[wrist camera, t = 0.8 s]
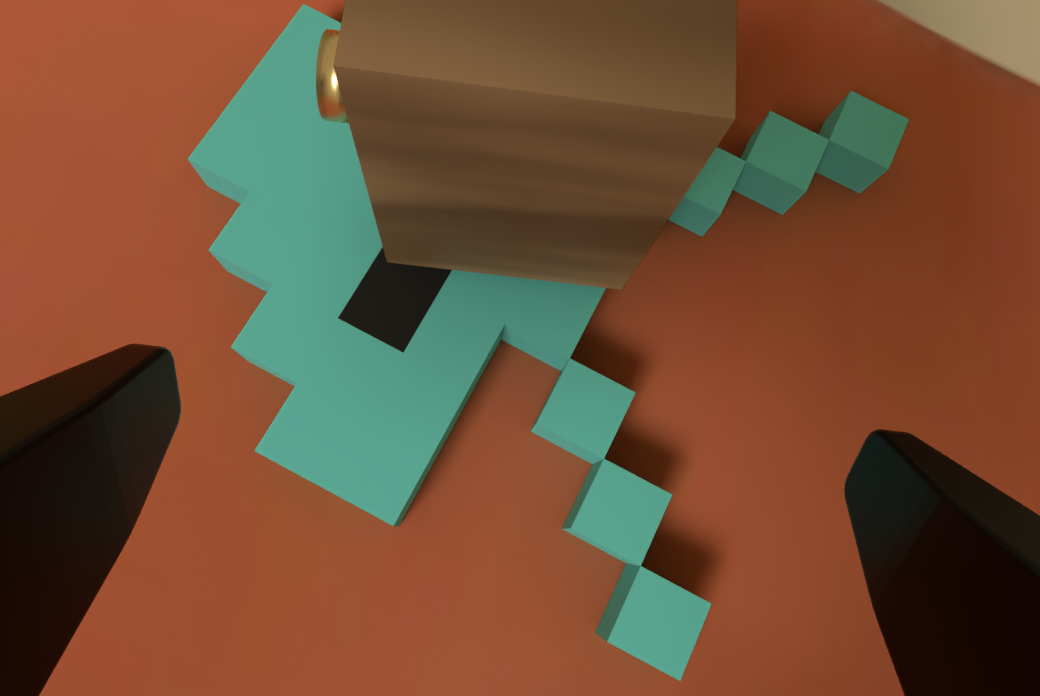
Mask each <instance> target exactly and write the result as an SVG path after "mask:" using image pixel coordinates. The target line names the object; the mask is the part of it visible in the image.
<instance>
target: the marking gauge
mask: <svg viewBox="0 0 1040 696" xmlns="http://www.w3.org/2000/svg"><path fill="white" fill-rule="evenodd" d="M736 52H737V0H345V6H344V11H343V16H342V21H341V27H340V30H332V29H326V30H325V31H324V33H323V35H322V37H321V40H320V44H319V49H318V56H317V66H316V93H317V102H318V108H319V112H320V115H321V117H322V119H323V120H325V121H331V122H339V123H347V124H349V125H350V129H351V133H352V136H353V140H354V144H355V147H356V151H357V155H358V158H359V162H360V166H361V169H362V173H363V177H364V180H365V184H366V187H367V191H368V195H369V198H370V202H371V206H372V209H373V213H374V217H375V220H376V224H377V228H378V231H379V235H380V239H381V242H382V246H383V250H384V253H385V257H386V260H387V262H389V263H398V264H406V265H415V266H423V267H432V268H440V269H449V270H457V271H466V272H474V273H483V274H492V275H500V276H509V277H517V278H526V279H534V280H543V281H551V282H560V283H568V284H577V285H585V286H594V287H602V288H611V289H619V290H622V288H623V287H624V285H625V284H626V282H627V281H628V279H629V278H630V276H631V275H632V273H633V272H634V270H635V269H636V267H637V266H638V264H639V263H640V261H641V260H642V258H643V257H644V255H645V254H646V252H647V251H648V249H649V248H650V246H651V245H652V243H653V242H654V240H655V239H656V237H657V236H658V234H659V233H660V231H661V230H662V228H663V227H664V225H665V224H666V222H667V221H668V219H669V218H670V216H671V215H672V213H673V212H674V210H675V209H676V207H677V206H678V204H679V203H680V201H681V200H682V198H683V197H684V195H685V194H686V192H687V191H688V189H689V188H690V186H691V185H692V183H693V182H694V180H695V179H696V177H697V176H698V174H699V173H700V171H701V170H702V168H703V167H704V165H705V164H706V162H707V161H708V159H709V158H710V156H711V155H712V153H713V152H714V150H715V149H716V147H717V146H718V144H719V143H720V141H721V140H722V138H723V137H724V135H725V134H726V132H727V131H728V129H729V128H730V126H731V125H732V123H733V122H734V120H735V119H736Z"/></svg>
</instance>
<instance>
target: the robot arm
mask: <svg viewBox="0 0 1040 696" xmlns="http://www.w3.org/2000/svg"><path fill="white" fill-rule="evenodd" d="M180 413H181V402H180V395H179V389H178V383H177V377H176V371H175V364H174V359H173V356H172V354H171V352H170V351H169V350H168V349H166V348H165V347H159V346H151V345H142V344H129V345H126V346H124V347H121V348H119V349H116V350H114V351H111V352H109V353H107V354H104V355H102V356H99V357H97V358H94V359H92V360H89V361H87V362H84V363H82V364H79V365H77V366H74V367H72V368H70V369H67V370H65V371H62V372H60V373H57V374H55V375H52V376H50V377H47V378H45V379H42V380H40V381H37V382H35V383H33V384H30V385H28V386H25V387H23V388H20V389H18V390H15V391H13V392H10V393H8V394H5V395H3V396H0V696H39V695H40V693H41V691H42V690H43V688H44V686H45V684H46V683H47V681H48V679H49V677H50V676H51V674H52V672H53V670H54V669H55V667H56V665H57V663H58V662H59V660H60V658H61V656H62V655H63V653H64V651H65V649H66V648H67V646H68V644H69V642H70V641H71V639H72V637H73V635H74V634H75V632H76V630H77V628H78V627H79V625H80V623H81V621H82V620H83V618H84V616H85V614H86V613H87V611H88V609H89V607H90V606H91V604H92V602H93V600H94V599H95V597H96V595H97V593H98V592H99V590H100V588H101V586H102V585H103V583H104V581H105V579H106V577H107V576H108V574H109V572H110V570H111V569H112V567H113V565H114V563H115V562H116V560H117V558H118V556H119V555H120V553H121V551H122V549H123V547H124V546H125V544H126V542H127V540H128V538H129V536H130V534H131V532H132V530H133V528H134V526H135V524H136V522H137V519H138V517H139V515H140V513H141V510H142V508H143V506H144V503H145V501H146V499H147V496H148V494H149V491H150V489H151V487H152V484H153V482H154V480H155V477H156V475H157V473H158V470H159V468H160V466H161V463H162V461H163V458H164V456H165V454H166V451H167V449H168V447H169V444H170V442H171V440H172V437H173V435H174V433H175V430H176V428H177V425H178V423H179V419H180ZM844 491H845V500H846V504H847V508H848V512H849V516H850V520H851V524H852V528H853V532H854V536H855V540H856V544H857V548H858V552H859V556H860V560H861V564H862V568H863V572H864V576H865V580H866V584H867V588H868V592H869V595H870V599H871V602H872V606H873V609H874V612H875V615H876V618H877V621H878V624H879V627H880V630H881V633H882V635H883V638H884V641H885V643H886V646H887V649H888V652H889V654H890V657H891V660H892V663H893V665H894V668H895V671H896V673H897V676H898V679H899V682H900V684H901V687H902V690H903V693H904V695H905V696H1040V516H1039V515H1038V514H1036V513H1035V512H1033V511H1032V510H1030V509H1028V508H1027V507H1025V506H1024V505H1022V504H1021V503H1019V502H1017V501H1016V500H1014V499H1013V498H1011V497H1010V496H1008V495H1006V494H1005V493H1003V492H1002V491H1000V490H999V489H997V488H995V487H994V486H992V485H991V484H989V483H988V482H986V481H984V480H983V479H981V478H980V477H978V476H977V475H975V474H973V473H972V472H970V471H969V470H967V469H966V468H964V467H962V466H961V465H959V464H958V463H956V462H955V461H953V460H952V459H950V458H948V457H947V456H945V455H944V454H942V453H941V452H939V451H937V450H936V449H934V448H933V447H931V446H930V445H928V444H926V443H925V442H923V441H922V440H920V439H919V438H917V437H915V436H914V435H912V434H910V433H906V432H900V431H891V430H882V429H878V430H875V431H873V432H871V433H870V434H869V435H868V437H867V438H866V440H865V442H864V444H863V446H862V448H861V450H860V452H859V454H858V456H857V458H856V460H855V462H854V464H853V466H852V468H851V470H850V472H849V474H848V476H847V478H846V482H845V489H844Z"/></svg>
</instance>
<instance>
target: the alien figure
mask: <svg viewBox="0 0 1040 696" xmlns="http://www.w3.org/2000/svg"><path fill="white" fill-rule="evenodd" d="M340 27H341V23H340V22H338V21H336V20H334V19H332V18H330V17H328V16H326V15H324V14H322V13H320V12H318V11H316V10H314V9H312V8H310V7H308V6H306V5H304V4H303V5H302V7H301V8H300V9H299V11H298V12H297V13H296V15H295V16H294V17H293V19H292V20H291V21H290V23H289V24H288V25H287V27H286V28H285V29H284V31H283V32H282V33H281V35H280V36H279V37H278V39H277V40H276V41H275V43H274V44H273V45H272V47H271V48H270V50H269V51H268V52H267V54H266V55H265V56H264V58H263V59H262V60H261V62H260V63H259V64H258V66H257V67H256V68H255V70H254V71H253V72H252V74H251V75H250V76H249V78H248V79H247V80H246V82H245V83H244V84H243V86H242V87H241V88H240V90H239V91H238V92H237V94H236V95H235V96H234V98H233V99H232V100H231V102H230V103H229V104H228V106H227V107H226V108H225V110H224V111H223V112H222V114H221V115H220V116H219V118H218V119H217V120H216V122H215V123H214V124H213V126H212V127H211V128H210V130H209V131H208V132H207V134H206V135H205V136H204V138H203V139H202V141H201V142H200V143H199V145H198V146H197V147H196V149H195V150H194V151H193V153H192V154H191V155H190V157H189V158H188V160H189V162H190V163H191V164H192V166H193V167H194V168H195V170H196V171H197V173H198V174H199V175H200V177H201V178H202V179H203V181H204V182H205V183H206V185H207V186H208V187H210V188H212V189H214V190H216V191H217V192H219V193H221V194H223V195H225V196H227V197H229V198H231V199H233V200H235V201H237V202H239V203H240V204H241V205H240V206H239V208H238V209H237V210H236V212H235V213H234V215H233V216H232V217H231V219H230V220H229V222H228V223H227V225H226V226H225V227H224V229H223V230H222V232H221V233H220V234H219V236H218V237H217V239H216V240H215V241H214V243H213V244H212V246H211V247H210V249H209V251H210V252H211V253H212V255H213V256H214V257H215V258H216V259H217V260H218V261H219V262H220V263H221V265H222V266H223V267H224V268H225V269H226V270H227V271H228V272H230V273H232V274H234V275H235V276H237V277H239V278H241V279H243V280H245V281H247V282H249V283H251V284H253V285H254V286H256V287H258V288H260V289H262V290H264V291H266V292H267V293H266V295H265V296H264V298H263V299H262V301H261V302H260V304H259V305H258V307H257V308H256V310H255V311H254V313H253V314H252V316H251V317H250V319H249V320H248V322H247V323H246V325H245V326H244V328H243V329H242V331H241V332H240V334H239V335H238V337H237V338H236V340H235V341H234V343H233V344H232V346H231V348H232V349H234V350H235V351H236V352H237V353H239V354H240V355H241V356H242V357H244V358H245V359H246V360H247V361H249V362H251V363H252V364H254V365H256V366H258V367H260V368H262V369H264V370H266V371H267V372H269V373H271V374H273V375H275V376H277V377H279V378H280V379H282V380H284V381H286V382H288V383H290V384H292V385H294V386H295V387H294V389H293V390H292V392H291V394H290V395H289V397H288V398H287V400H286V402H285V403H284V405H283V406H282V408H281V410H280V411H279V413H278V414H277V416H276V418H275V419H274V421H273V422H272V424H271V425H270V427H269V429H268V430H267V432H266V433H265V435H264V437H263V438H262V440H261V441H260V443H259V445H258V446H257V448H256V449H255V452H257V453H259V454H261V455H263V456H265V457H267V458H268V459H270V460H272V461H274V462H276V463H278V464H279V465H281V466H283V467H285V468H287V469H289V470H291V471H292V472H294V473H296V474H298V475H300V476H302V477H304V478H305V479H307V480H309V481H311V482H313V483H315V484H316V485H318V486H320V487H322V488H324V489H326V490H328V491H329V492H331V493H333V494H335V495H337V496H339V497H341V498H342V499H344V500H346V501H348V502H350V503H352V504H353V505H355V506H357V507H359V508H361V509H363V510H365V511H366V512H368V513H370V514H372V515H374V516H376V517H378V518H379V519H381V520H383V521H385V522H387V523H389V524H390V525H392V526H399V525H400V523H401V522H402V520H403V518H404V516H405V514H406V513H407V511H408V509H409V507H410V505H411V503H412V502H413V500H414V498H415V496H416V494H417V492H418V491H419V489H420V487H421V485H422V483H423V482H424V480H425V478H426V476H427V474H428V472H429V471H430V469H431V467H432V465H433V463H434V461H435V460H436V458H437V456H438V454H439V452H440V451H441V449H442V447H443V445H444V443H445V441H446V440H447V438H448V436H449V434H450V432H451V430H452V429H453V427H454V425H455V423H456V421H457V420H458V418H459V416H460V414H461V412H462V410H463V409H464V407H465V405H466V403H467V401H468V399H469V398H470V396H471V394H472V392H473V390H474V389H475V387H476V385H477V383H478V381H479V379H480V378H481V376H482V374H483V372H484V370H485V369H486V367H487V365H488V363H489V361H490V359H491V358H492V356H493V354H494V352H495V350H496V348H497V347H498V345H499V343H500V341H501V340H503V341H504V342H506V343H508V344H510V345H512V346H514V347H516V348H518V349H520V350H522V351H524V352H526V353H527V354H529V355H531V356H533V357H535V358H537V359H539V360H541V361H543V362H545V363H547V364H548V365H550V366H552V367H554V368H556V369H558V370H560V371H561V373H560V375H559V377H558V379H557V381H556V383H555V385H554V387H553V389H552V391H551V393H550V395H549V397H548V399H547V400H546V402H545V404H544V406H543V408H542V410H541V412H540V414H539V416H538V418H537V420H536V422H535V424H534V426H533V428H532V430H531V432H533V433H535V434H536V435H538V436H540V437H542V438H544V439H546V440H548V441H550V442H552V443H554V444H555V445H557V446H559V447H561V448H563V449H565V450H567V451H569V452H571V453H572V454H574V455H576V456H578V457H580V458H582V459H584V460H586V461H588V462H590V463H591V464H593V465H592V467H591V469H590V471H589V473H588V475H587V478H586V480H585V482H584V484H583V486H582V488H581V490H580V492H579V494H578V496H577V498H576V500H575V502H574V505H573V507H572V509H571V511H570V513H569V515H568V517H567V519H566V521H565V523H564V525H563V527H562V529H563V530H565V531H567V532H569V533H571V534H573V535H574V536H576V537H578V538H580V539H582V540H584V541H586V542H588V543H589V544H591V545H593V546H595V547H597V548H599V549H601V550H602V551H604V552H606V553H608V554H610V555H612V556H614V557H616V558H617V559H619V560H621V561H623V562H625V563H626V565H625V567H624V569H623V571H622V574H621V576H620V578H619V580H618V583H617V585H616V587H615V589H614V592H613V594H612V596H611V598H610V600H609V603H608V605H607V607H606V609H605V612H604V614H603V616H602V618H601V620H600V623H599V625H598V627H597V629H596V632H595V633H596V634H598V635H599V636H600V637H602V638H603V639H604V640H606V641H607V642H609V643H611V644H612V645H614V646H616V647H618V648H620V649H622V650H624V651H625V652H627V653H629V654H631V655H633V656H635V657H636V658H638V659H640V660H642V661H644V662H646V663H648V664H649V665H651V666H653V667H655V668H657V669H659V670H661V671H662V672H664V673H666V674H668V675H670V676H672V677H673V678H675V679H677V680H679V681H680V680H681V677H682V675H683V673H684V670H685V668H686V665H687V663H688V660H689V658H690V655H691V653H692V651H693V648H694V646H695V643H696V641H697V638H698V636H699V633H700V631H701V628H702V626H703V624H704V621H705V619H706V616H707V614H708V611H709V609H710V606H711V603H709V602H707V601H705V600H704V599H702V598H700V597H698V596H696V595H694V594H692V593H690V592H689V591H687V590H685V589H683V588H681V587H679V586H677V585H675V584H674V583H672V582H670V581H668V580H666V579H664V578H662V577H660V576H659V575H657V574H655V573H653V572H651V571H649V570H647V569H645V568H644V567H642V566H641V564H642V562H643V560H644V557H645V555H646V553H647V551H648V548H649V546H650V544H651V542H652V539H653V537H654V535H655V533H656V530H657V528H658V526H659V524H660V521H661V519H662V517H663V515H664V512H665V510H666V508H667V506H668V503H669V501H670V499H671V496H672V494H670V493H668V492H666V491H664V490H663V489H661V488H659V487H657V486H655V485H653V484H651V483H649V482H647V481H646V480H644V479H642V478H640V477H638V476H636V475H634V474H632V473H630V472H628V471H627V470H625V469H623V468H621V467H619V466H617V465H615V464H613V463H611V462H609V461H608V460H606V459H604V458H605V456H606V454H607V451H608V449H609V447H610V445H611V443H612V441H613V439H614V437H615V435H616V433H617V431H618V428H619V426H620V424H621V422H622V420H623V418H624V416H625V414H626V412H627V410H628V408H629V405H630V403H631V401H632V399H633V397H634V395H635V392H634V391H632V390H630V389H628V388H626V387H624V386H622V385H620V384H618V383H616V382H614V381H612V380H610V379H609V378H607V377H605V376H603V375H601V374H599V373H597V372H595V371H593V370H591V369H589V368H587V367H586V366H584V365H582V364H580V363H578V362H576V361H574V360H572V359H570V357H571V355H572V353H573V351H574V349H575V347H576V345H577V343H578V341H579V339H580V337H581V335H582V334H583V332H584V330H585V328H586V326H587V324H588V322H589V320H590V318H591V316H592V314H593V312H594V310H595V308H596V306H597V304H598V302H599V300H600V299H601V297H602V295H603V293H604V291H605V289H606V288H602V287H594V286H585V285H577V284H568V283H560V282H551V281H543V280H534V279H526V278H517V277H509V276H500V275H492V274H483V273H474V272H466V271H457V270H449V269H440V268H432V267H423V266H415V265H406V264H398V263H389V262H387V260H386V257H385V253H384V250H383V246H382V242H381V239H380V235H379V231H378V228H377V224H376V220H375V217H374V213H373V209H372V206H371V202H370V198H369V195H368V191H367V187H366V184H365V180H364V177H363V173H362V169H361V166H360V162H359V158H358V155H357V151H356V147H355V144H354V140H353V136H352V133H351V129H350V125H349V124H347V123H339V122H331V121H325V120H323V119H322V117H321V115H320V112H319V108H318V102H317V93H316V66H317V56H318V49H319V44H320V40H321V37H322V35H323V33H324V31H325V30H326V29H332V30H340ZM908 121H909V119H908V118H906V117H904V116H901V115H899V114H897V113H895V112H893V111H891V110H889V109H887V108H885V107H883V106H881V105H879V104H877V103H875V102H873V101H871V100H869V99H867V98H865V97H863V96H861V95H859V94H857V93H855V92H853V91H850V92H849V94H848V95H847V96H846V97H845V98H844V99H843V100H842V101H841V103H840V104H839V105H838V106H837V107H836V108H835V109H834V110H833V112H832V113H831V114H830V115H829V116H828V117H827V118H826V119H825V122H824V124H823V126H822V128H821V130H820V133H819V135H818V134H816V133H814V132H812V131H810V130H808V129H806V128H804V127H802V126H800V125H798V124H796V123H794V122H792V121H790V120H788V119H786V118H784V117H782V116H780V115H778V114H776V113H774V112H772V111H770V112H769V113H768V115H767V116H766V117H765V119H764V120H763V121H762V123H761V124H760V125H759V127H758V128H757V129H756V131H755V132H754V134H753V135H752V136H751V138H750V139H749V141H748V143H747V145H746V147H745V149H744V151H743V154H742V156H741V158H738V157H736V156H734V155H732V154H730V153H728V152H726V151H724V150H722V149H720V148H718V147H716V149H715V150H714V152H713V153H712V155H711V156H710V158H709V159H708V161H707V162H706V164H705V165H704V167H703V168H702V170H701V171H700V173H699V174H698V176H697V177H696V179H695V180H694V182H693V183H692V185H691V186H690V188H689V189H688V191H687V192H686V194H685V195H684V197H683V198H682V200H681V201H680V203H679V204H678V206H677V207H676V209H675V210H674V212H673V213H672V215H671V216H670V218H669V219H668V220H670V221H672V222H674V223H676V224H678V225H680V226H682V227H684V228H686V229H688V230H689V231H691V232H693V233H695V234H697V235H699V236H701V237H703V236H704V234H705V233H706V232H707V231H708V230H709V228H710V227H711V226H712V225H713V223H714V222H715V221H716V220H717V219H718V217H719V216H720V215H721V213H722V211H723V209H724V207H725V205H726V202H727V200H728V198H729V196H730V194H731V192H732V190H734V191H736V192H738V193H740V194H742V195H744V196H746V197H748V198H750V199H752V200H754V201H756V202H758V203H760V204H762V205H764V206H766V207H768V208H770V209H772V210H774V211H776V212H778V213H780V214H782V215H783V214H784V213H785V212H786V211H787V210H788V209H789V208H790V207H791V206H792V205H793V204H794V203H795V202H796V201H797V200H798V199H799V198H800V197H801V196H802V195H803V194H804V193H805V192H806V191H807V189H808V187H809V185H810V182H811V180H812V178H813V176H814V173H815V172H817V173H819V174H821V175H823V176H825V177H827V178H829V179H831V180H833V181H835V182H837V183H839V184H841V185H843V186H845V187H847V188H849V189H851V190H853V191H855V192H857V193H859V194H860V193H861V192H862V191H864V190H865V189H866V188H867V187H868V186H870V185H871V184H872V183H873V182H874V181H876V180H877V179H878V178H879V177H880V176H881V175H883V174H884V173H885V172H886V171H887V170H889V167H890V165H891V162H892V160H893V158H894V155H895V153H896V150H897V148H898V145H899V143H900V140H901V138H902V136H903V133H904V131H905V128H906V126H907V123H908Z"/></svg>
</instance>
